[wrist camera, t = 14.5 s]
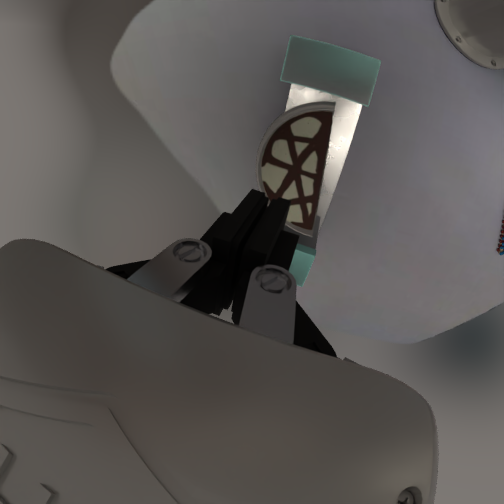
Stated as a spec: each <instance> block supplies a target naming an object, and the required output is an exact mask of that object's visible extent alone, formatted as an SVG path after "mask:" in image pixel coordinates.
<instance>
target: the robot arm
mask: <svg viewBox="0 0 504 504" xmlns="http://www.w3.org/2000/svg"><path fill="white" fill-rule="evenodd" d="M441 1H442V2H441ZM435 10H436V14H437V17H438V20H439V22H440V25H441V26H442V28H443V30H444V32H445V34H446V35H447V36H448V38H449V39H450V41H451V42H452V43H453V44H454V45H455V47H456V48H457V49H458V50H459V51H460V52H461V53H462V54H463V55H464V56H466V57H467V58H468V59H470V60H471V61H473V62H474V63H476V64H478V65H480V66H482V67H485V68H489V69H503V68H504V0H435ZM456 39H457V41H456ZM491 63H492V64H491ZM268 201H269V197H266V196H265V193H264V192H261V191H257V190H254V189H252V190H251V191H250V192H249V193H248V195H247V196H246V197H245V198H244V199H243V201H242V202H241V203H240V204H239V205H238V207H237V208H236V209H235V210H234V212H233V213H232V214H230V213H227V212H224V213H222V214H221V216H220V217H219V218H218V219H217V220H216V221H215V223H214V224H213V225H212V226H211V227H210V228H209V229H208V231H207V232H206V233H205V234H204V235H203V236H202V238H201V239H200V240H198V239H193V238H185V239H180V240H177V241H175V242H174V243H172V244H171V245H169V246H168V247H167V248H166V249H164V250H163V251H162V252H161V253H159V254H158V255H157V256H155V257H154V258H153V259H151V260H145V261H139V262H134V263H128V264H123V265H118V266H113V267H110V268H107V269H104V267H102V266H98V265H95V264H93V263H90V262H88V261H86V260H84V259H82V258H80V257H78V256H76V255H74V254H72V253H70V252H68V251H66V250H63V249H61V248H59V247H57V246H55V245H52V244H50V243H47V242H43V241H39V240H35V239H18V240H13V241H11V242H9V243H7V244H5V245H4V246H3V247H1V248H0V504H434V498H435V492H436V485H437V474H438V455H439V454H438V434H437V426H436V420H435V416H434V414H433V411H432V408H431V406H430V405H429V403H428V402H427V401H426V399H424V397H423V396H422V395H421V394H419V393H418V392H417V391H416V390H414V389H413V388H411V387H410V386H408V385H407V384H405V383H403V382H402V381H399V380H398V379H396V378H393V377H391V376H389V375H387V374H384V373H382V372H380V371H377V370H374V369H372V368H368V367H365V366H362V365H359V364H357V363H356V362H354V361H352V360H350V359H348V358H346V357H345V358H344V359H343V360H342V359H340V358H338V357H337V356H336V353H335V351H334V350H333V348H332V346H331V345H330V344H329V343H328V341H327V340H326V339H325V337H324V336H323V335H322V333H321V332H320V331H319V329H318V328H317V327H316V326H315V324H314V323H313V322H312V320H311V319H310V318H309V317H308V315H307V314H306V313H305V311H304V310H303V309H302V308H301V306H300V305H299V304H298V302H297V301H296V288H297V285H296V280H295V278H294V276H293V275H292V274H291V273H290V272H289V269H290V266H291V262H292V259H293V256H294V253H295V249H296V246H297V243H298V240H299V236H300V235H297V234H294V233H291V232H288V231H284V226H285V223H286V219H287V216H288V212H289V208H290V205H291V200H287V199H284V198H281V197H278V199H277V200H276V199H272V200H271V202H270V204H269V205H268ZM267 206H268V207H267ZM232 300H233V304H232V310H231V311H232V312H233V314H232V320H233V322H234V324H233V323H230V322H227V321H225V320H222V319H219V318H217V317H214V316H212V315H209V314H211V313H213V314H216V315H218V316H219V315H220V313H221V312H222V310H223V308H224V309H228V308H229V307H230V305H231V303H232Z"/></svg>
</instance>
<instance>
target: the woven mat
mask: <svg viewBox="0 0 504 504" xmlns="http://www.w3.org/2000/svg"><path fill="white" fill-rule="evenodd" d="M502 223H503V226H502V228H503V229H502V231H501V233H502V235H501V236H500V238H501V240H500V241H499V242H500V245H499V246H498V247H499V248H498V249H497V251H498V254H500V255H503V254H504V220H503V222H502Z"/></svg>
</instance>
